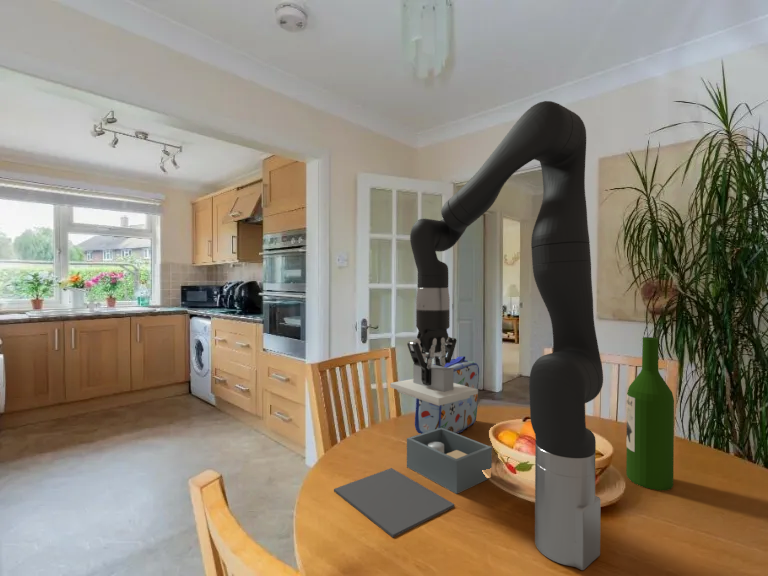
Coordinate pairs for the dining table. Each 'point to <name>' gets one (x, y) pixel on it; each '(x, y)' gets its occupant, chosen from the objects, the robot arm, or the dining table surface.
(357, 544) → the dining table surface
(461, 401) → the lunch box
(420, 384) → the lid
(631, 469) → the wine bottle
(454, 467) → the storage box
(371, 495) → the mat
